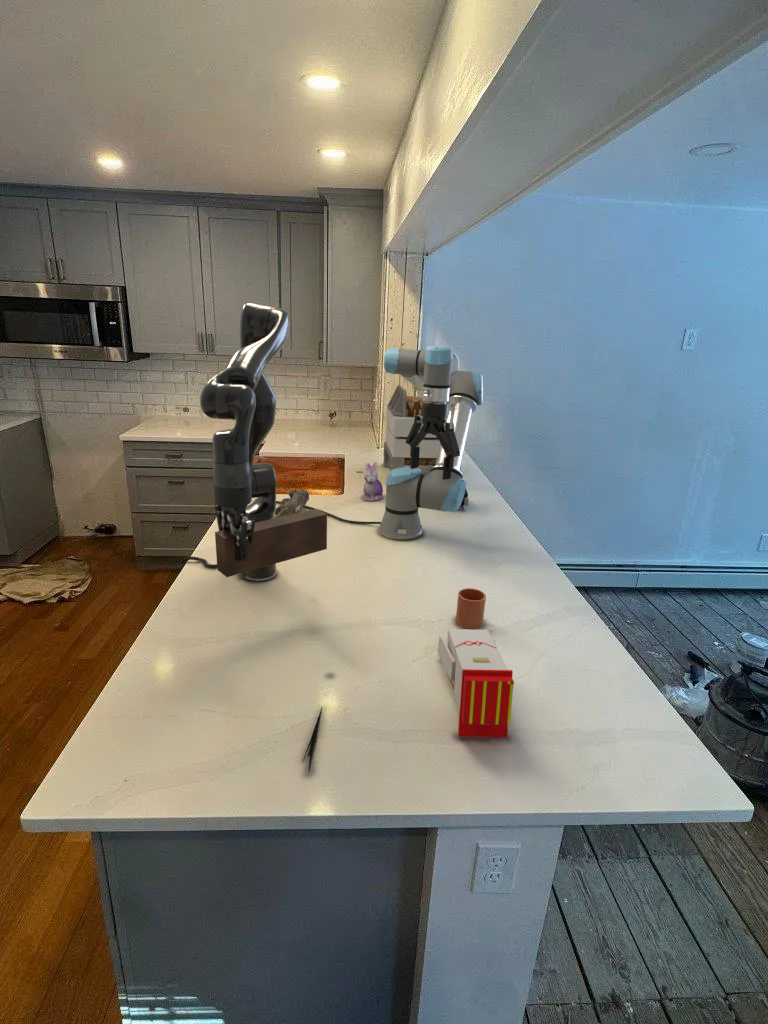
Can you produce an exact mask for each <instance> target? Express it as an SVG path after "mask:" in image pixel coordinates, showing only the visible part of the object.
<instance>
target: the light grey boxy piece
mask: <svg viewBox="0 0 768 1024" xmlns="http://www.w3.org/2000/svg"><path fill="white" fill-rule="evenodd" d="M407 394H408V393H407V390H406V389H404V388H403V387H402V385H399V384H398V385H397V386H396V388H395V390H394V392H393V394H392V395H391V398H390V400H389V402H388V404H387V405H386V413H385V414H386V415H385V423H386V428H385V438H384V442H383V466H384V467H388V468H389V472H390V471H391V470H393V469H396V468H401V467H405V466H406V467H411V457H410V449H411V447H410V445H409V444H406V439H407V437H408V435H409V433H410V430H411V428H412V426H413V424H414V419H415V416H417V415H422V403H423V402H424V400H423V396H415V395H414V396H413V395H412V396H411V395H407ZM445 419H446V418H445ZM422 426H423V423H422V425H421V427H422ZM420 429H421V428H420ZM419 431H420V430H419ZM418 433H419V432H418ZM441 433H442V432H441ZM439 446H440V441H439V439H438V438H437V437H436V435H432V434H427V435H426V436H425V437H424V438H423V440H422V441H421V442H420V443H419V446H417V447H420V452H419V467H434V466H435V465H436V460H437V456H438V451H439ZM460 471H461V472H462V465H461V466H460Z"/></svg>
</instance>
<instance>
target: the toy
mask: <svg viewBox="0 0 768 1024" xmlns="http://www.w3.org/2000/svg"><path fill="white" fill-rule="evenodd" d="M446 640H447V643H446V641H445V639H444V636H443V635H442V634H439V637H438V646H437V656H438V657H439V659H440V661H441V663H442V666H443V668H444V670H445V672H446V674H447V677H448V679H449V681H450V684H451V687H452V690H453V693H454V697H455V701H456V705H457V708H458V711H459V714H458V715H459V716H458V730H457V731H458V732H457V737H458V738H508V731H509V726H510V725H511V717H512V707H513V697H514V696H513V695H514V684H515V680H514V679H513V673H514V671H513V670H512V669H508V667H507V665H506V662H505V661H504V659H503V658H502V655H501V653H500V651H499V649H498V647H497V643H496V639H495V637H494V635H493V634H491V632H490V631H489V629H465V628H460V629H459V628H448V630H447V639H446Z"/></svg>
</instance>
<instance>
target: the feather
mask: <svg viewBox="0 0 768 1024" xmlns="http://www.w3.org/2000/svg"><path fill="white" fill-rule="evenodd" d="M329 675H330V676H331V675H332V674H331V673H330V674H329ZM322 710H323V707H321V708H320V710H319V713H318V716H317V719H316V723H315V725H314V728H313V731H312V733H311V737H310V739H309V742H308V745H307V748H306V751H305V754H304V757H303V760H302V763H301V767H302V765H303V763H304V761H305V758H308V759H309V760H308V762H307V763H308V764H307V766H308V771H310V770H311V766H312V765H311V764H312V760H313V757H315V756H314V755H315V751H316V749H315V746H317V739H318V733H319V729H320V722H321V717H322V712H323V711H322ZM313 754H314V755H313ZM306 755H307V757H306Z"/></svg>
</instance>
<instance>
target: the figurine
mask: <svg viewBox="0 0 768 1024" xmlns="http://www.w3.org/2000/svg"><path fill="white" fill-rule="evenodd" d="M365 464H366V465H365V466H366V467H365V470H366V471H365V474H364V475H363V476H364V480H365V483H364V485H363V495H362V498H363V500H364V501H368V502H373V501H378V500H381V499H382V498H383V493H384V487H383V483H382V482H381V481H380V480H379V475H378V473H377V468H378V462H377V461H375V462H374V463H373V464H372V465H370V463H369V462H366V463H365Z"/></svg>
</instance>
